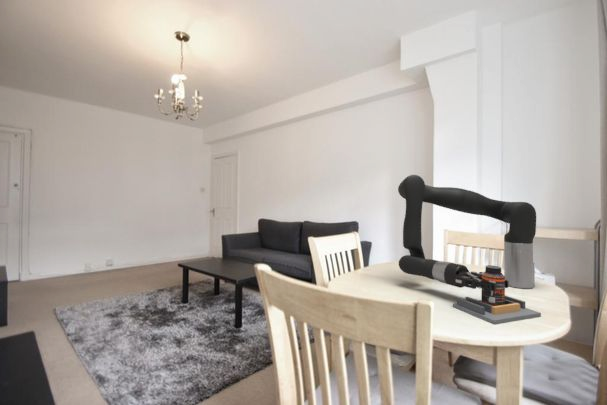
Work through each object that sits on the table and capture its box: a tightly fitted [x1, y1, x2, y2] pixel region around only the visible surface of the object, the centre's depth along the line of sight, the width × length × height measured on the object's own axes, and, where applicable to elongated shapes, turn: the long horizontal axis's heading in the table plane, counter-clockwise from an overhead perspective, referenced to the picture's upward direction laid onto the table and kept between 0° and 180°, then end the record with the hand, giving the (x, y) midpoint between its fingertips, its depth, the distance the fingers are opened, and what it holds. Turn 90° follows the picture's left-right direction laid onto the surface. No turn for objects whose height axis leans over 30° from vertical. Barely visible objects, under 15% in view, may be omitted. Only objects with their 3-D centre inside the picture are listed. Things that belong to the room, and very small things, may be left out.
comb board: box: [452, 295, 542, 325], centre depth 88 cm, size 18×14×3 cm
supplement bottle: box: [480, 264, 506, 306], centre depth 88 cm, size 6×6×11 cm
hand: (501, 285), depth 86 cm, fingers closed on supplement bottle, 6 cm apart
